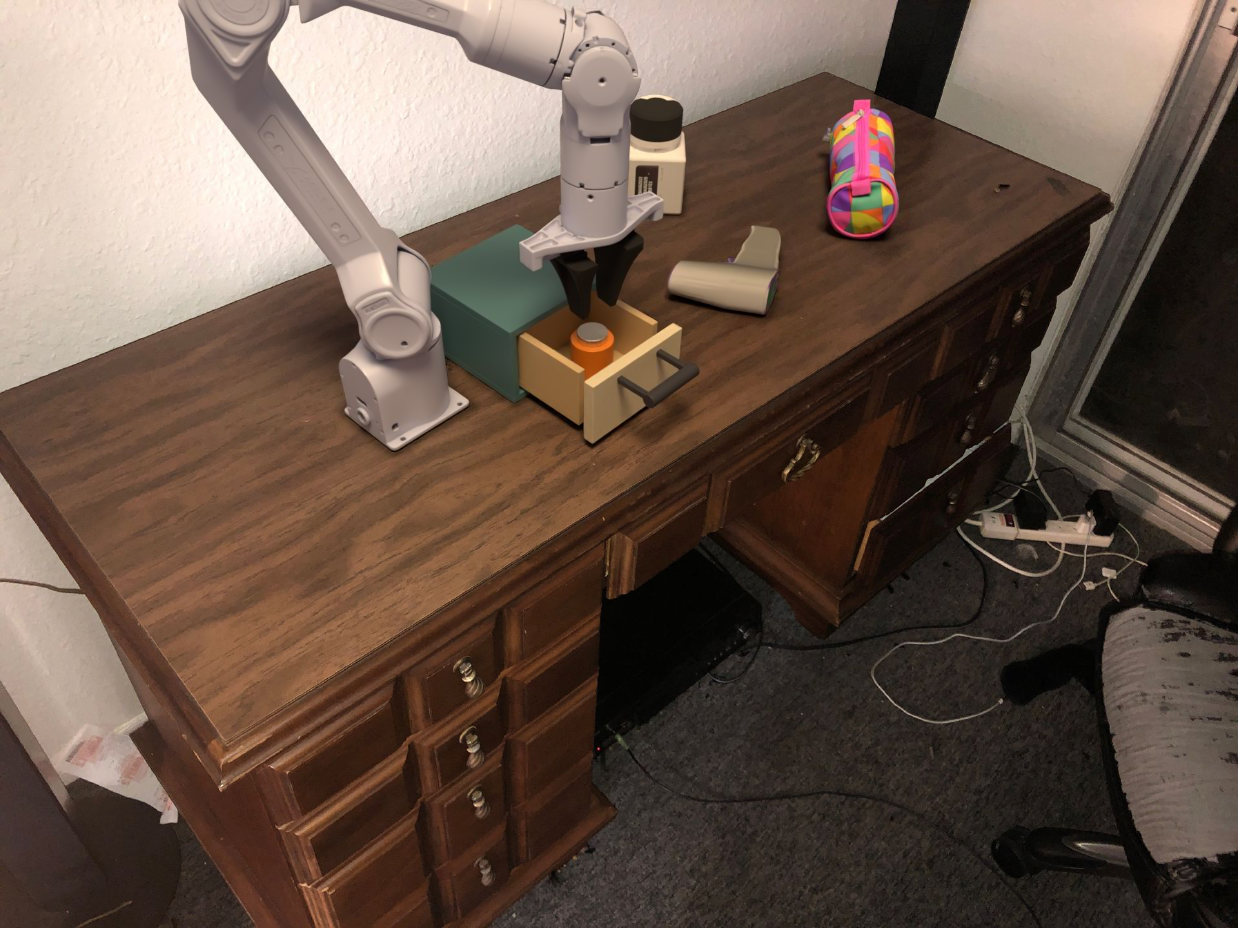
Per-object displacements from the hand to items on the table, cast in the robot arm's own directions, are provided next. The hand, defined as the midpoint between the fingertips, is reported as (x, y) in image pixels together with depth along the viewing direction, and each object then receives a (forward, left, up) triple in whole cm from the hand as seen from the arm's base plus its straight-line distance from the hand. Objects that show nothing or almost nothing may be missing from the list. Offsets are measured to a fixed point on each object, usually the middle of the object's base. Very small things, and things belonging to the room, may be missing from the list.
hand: (593, 307), depth 89 cm
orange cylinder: (0, 0, -8) cm, 8 cm away
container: (+33, +21, -11) cm, 41 cm away
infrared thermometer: (+26, +3, -11) cm, 28 cm away
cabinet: (0, +11, -10) cm, 15 cm away
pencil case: (+52, +2, -11) cm, 53 cm away
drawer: (0, -2, -9) cm, 10 cm away
